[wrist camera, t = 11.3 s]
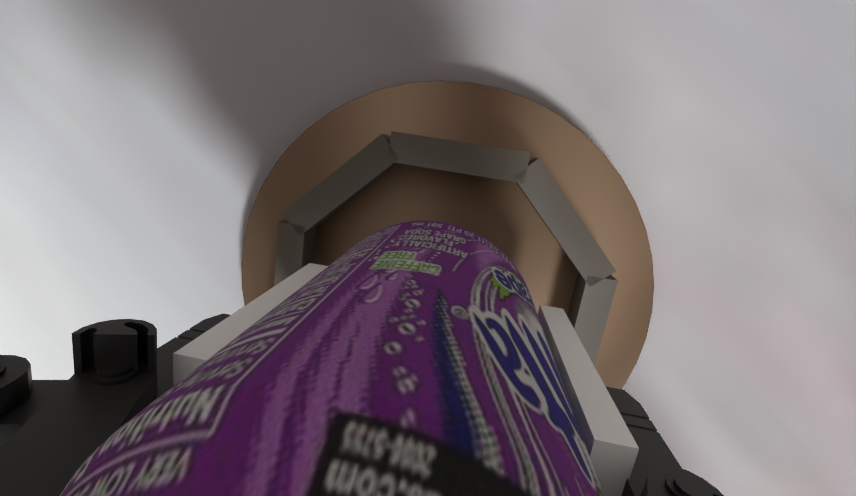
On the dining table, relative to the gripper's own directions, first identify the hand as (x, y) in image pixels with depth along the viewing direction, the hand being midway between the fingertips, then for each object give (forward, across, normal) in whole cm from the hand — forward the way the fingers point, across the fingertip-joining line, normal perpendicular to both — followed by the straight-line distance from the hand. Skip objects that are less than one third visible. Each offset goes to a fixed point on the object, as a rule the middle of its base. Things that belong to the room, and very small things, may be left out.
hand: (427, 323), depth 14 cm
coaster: (+3, 0, 0) cm, 3 cm away
